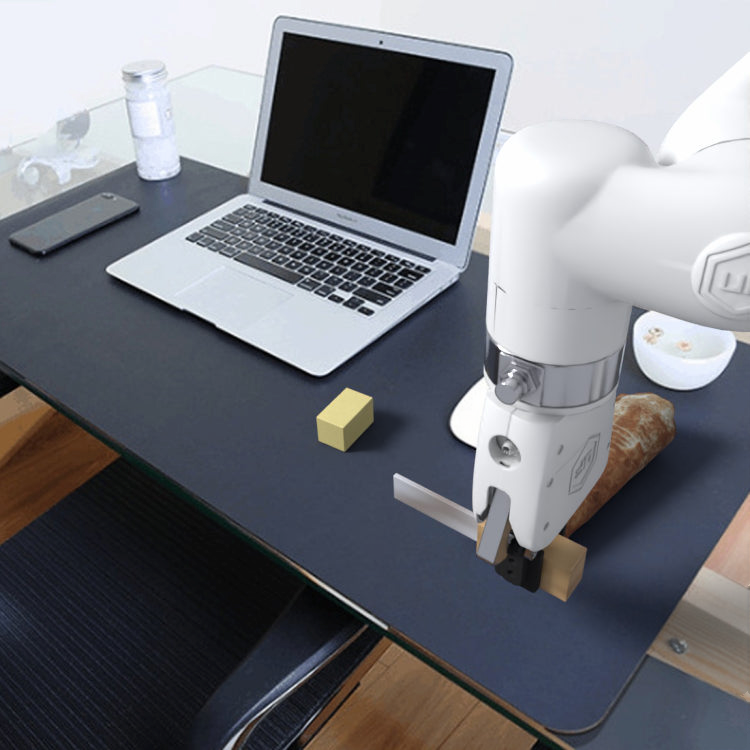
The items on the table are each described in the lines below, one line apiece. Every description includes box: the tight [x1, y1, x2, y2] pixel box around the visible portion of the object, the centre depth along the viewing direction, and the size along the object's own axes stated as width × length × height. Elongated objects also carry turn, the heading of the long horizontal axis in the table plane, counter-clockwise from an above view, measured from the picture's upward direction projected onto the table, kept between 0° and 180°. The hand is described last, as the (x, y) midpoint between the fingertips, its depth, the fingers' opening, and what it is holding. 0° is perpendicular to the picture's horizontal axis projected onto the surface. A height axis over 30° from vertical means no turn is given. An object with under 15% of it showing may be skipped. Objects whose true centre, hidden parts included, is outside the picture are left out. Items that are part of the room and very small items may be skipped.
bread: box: [565, 391, 677, 539], centre depth 67 cm, size 6×19×6 cm, turn 135°
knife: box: [392, 472, 588, 603], centre depth 57 cm, size 15×2×3 cm, turn 52°
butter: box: [315, 387, 374, 453], centre depth 74 cm, size 5×3×3 cm, turn 148°
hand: (528, 564), depth 55 cm, fingers closed on knife, 2 cm apart
